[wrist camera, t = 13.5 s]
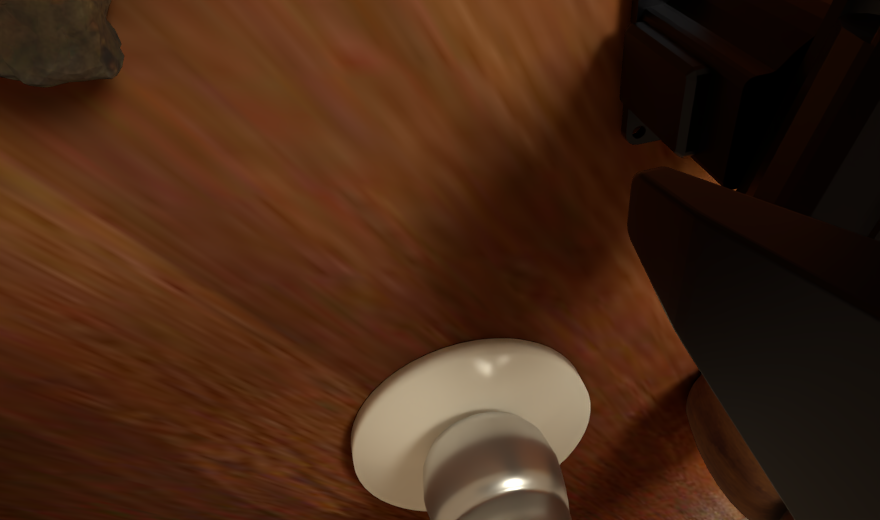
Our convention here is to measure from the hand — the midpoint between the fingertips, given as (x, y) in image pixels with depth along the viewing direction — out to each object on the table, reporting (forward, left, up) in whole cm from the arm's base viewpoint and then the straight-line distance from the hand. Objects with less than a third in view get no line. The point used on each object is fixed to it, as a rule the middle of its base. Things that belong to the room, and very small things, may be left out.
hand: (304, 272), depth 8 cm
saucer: (-4, +22, -13) cm, 26 cm away
